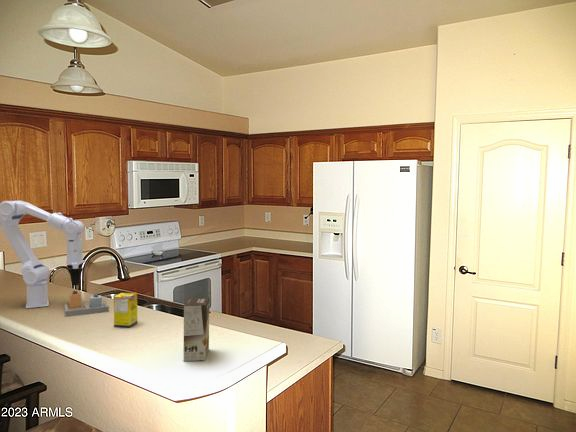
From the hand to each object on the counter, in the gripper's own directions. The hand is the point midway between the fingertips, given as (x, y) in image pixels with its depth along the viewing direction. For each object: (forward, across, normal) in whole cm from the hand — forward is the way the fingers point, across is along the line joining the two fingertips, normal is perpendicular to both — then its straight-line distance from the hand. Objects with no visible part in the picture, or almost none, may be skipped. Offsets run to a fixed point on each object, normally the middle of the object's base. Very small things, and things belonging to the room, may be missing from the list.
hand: (75, 283), depth 172 cm
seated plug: (+9, -9, -7) cm, 15 cm away
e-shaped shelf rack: (+9, -9, -4) cm, 13 cm away
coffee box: (+10, -73, -28) cm, 79 cm away
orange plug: (+9, 0, 0) cm, 9 cm away
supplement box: (+10, -35, -14) cm, 39 cm away
